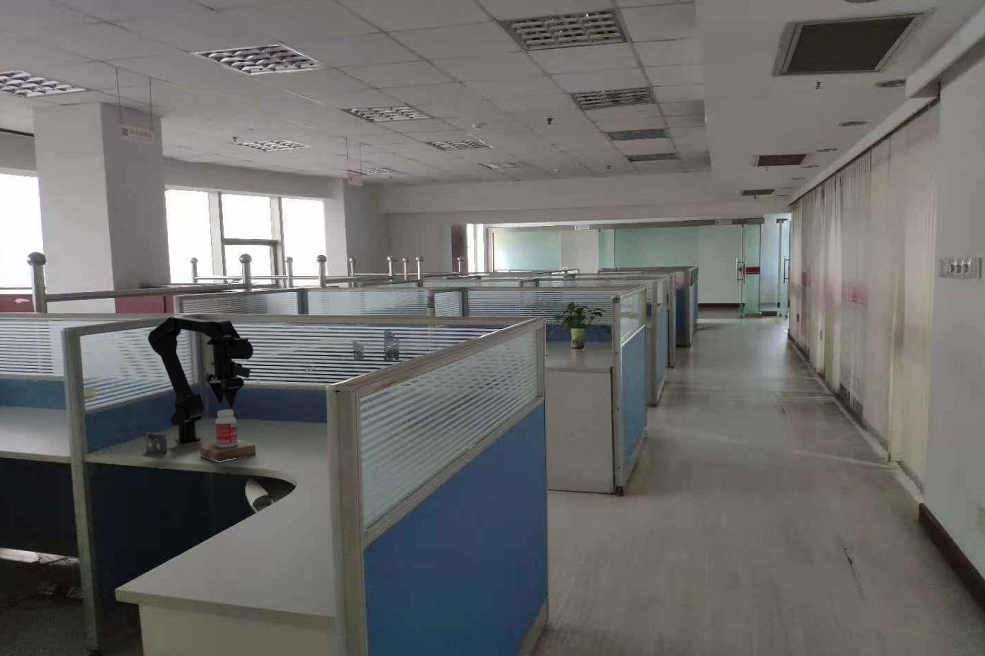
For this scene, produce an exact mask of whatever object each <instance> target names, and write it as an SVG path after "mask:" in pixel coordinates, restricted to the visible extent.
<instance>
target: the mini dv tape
mask: <svg viewBox="0 0 985 656" xmlns="http://www.w3.org/2000/svg"><path fill="white" fill-rule="evenodd" d="M144 437H145V446H146V448H145V449H146V451H147V452H151V453H156V454H161V453H164V454H167V453H168V444H167V436H166V434H163V433H162V434H161V433H157V432H156V433H155V432H149V431H148V432H145V436H144ZM166 452H167V453H166Z"/></svg>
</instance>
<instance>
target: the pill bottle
mask: <svg viewBox="0 0 985 656" xmlns="http://www.w3.org/2000/svg"><path fill="white" fill-rule="evenodd" d="M216 413H217V418H216V419H215V421H214V422H215V437H216V438H215V439H216V443H217V446H218V447H220V448H229V447H233V446H236V445H237V444H238V440H237V439H238V426H237V425H238V424H237V418H236V417H235V416H234V410H233V409H221V410H218V411H217V412H216Z"/></svg>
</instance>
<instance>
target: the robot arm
mask: <svg viewBox="0 0 985 656" xmlns="http://www.w3.org/2000/svg"><path fill="white" fill-rule="evenodd" d="M182 330H184V331H190V332H196V333H202V334H204V335H205V337H209V338H210V339H209V340H208V341H207V342H206V345H207V346H212V358H213V361H211V363H210V364H211V366H213V372H212V371H211V372H207V373H206V374H205V375H204V381H205V383H206V384H207V386H208V387H209V389H210V391H211V392H212V394H213V395H214V397H215V400H216V401H217V403H218V404H219V405H220V404H223V400H224V398H225V401H226V404H227V406H228V408H229V409H232V408H234V404H235V400H236V396H237V393H238V391H239V390H240V389H242V388H243V387H244V386H245V380H244V379H243V378H245V379H249V377H250V373H251V368H248V367H244V366H243V364H242V363H240V362H239V363H238V362H235V361H234V360H244V361H245V360H246V361H247V360H251V358H252V357H253V355H254V347H253V345H252V343H251V342H249V338H247V337H243V338H242V337H241V336H240V334H239V333H238V331H237V330H236V329H235V327H234V325H233V323H232V322H231V320H229V319H227V318H226V319H213V320H207V319H200V318H195V317H193V318H192V317H188V316H183V315H174V316H173V315H172V316H170V317H167V318H166V320H165V321H164V322H162V323H161V324H159V325H158V326H156V327H155V328H154V329H153V330H151V331H150V332H149V334H148V336H147V341H148V344H149V345H150V346H151V347H150V348H152V350H153V351H154V353H156V354H157V355H158V356H160V357H161V360H162V363H163V365H164V368H165V370H166V373H167V377H168V378H169V381H170V384H171V386H172V388H173V391H174V393H175V396H176V397H175V401H174V407H175V412H174V413H173V414H172V416H171V417H170V423H171V425H172V426H173V425H174V426H177V434H178V437H177V438H176V437H175V439H174V440H175V441H176V442H178V443H179V444H185V443H191V441H192V442H196V440H197V441H201V439H202V438H201V437H198V436H197V424H196V423H197V422H198V421H201V420H202V417H203V413H204V411H205V407H204V405H205V402H203V398H202V396H201V394H200V393H199V392H198V393H195V392H194V391H192V389H191V386H190V382H189V381H188V379H187V376H186V373H185V371H184V368H183V365H182V363H181V360H180V358H179V355H178V353H177V349H178V339H177V337H178V336H179V335H180V334H181V333H182ZM242 377H243V378H242Z"/></svg>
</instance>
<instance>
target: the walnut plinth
mask: <svg viewBox="0 0 985 656" xmlns="http://www.w3.org/2000/svg"><path fill="white" fill-rule="evenodd" d="M237 440H238V444H237V445H236V446H233V447H229V448H220V447H218V446H217V442H216V443H211V444H206V445H201V446H199V450H200V456H201V455H202V456H205V457H208V458H211V459H214V460H217V461H223V460H227V459H233V458H239V457H243V458H245V457H244V456H247V457H250V456H249V455H251V456H254V455H253V454H255V455H256V453H257V452H256V444H253V443H251V442H248V441H244V440H242V439H238V438H237ZM202 456H201V457H202ZM239 459H240V458H239Z"/></svg>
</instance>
